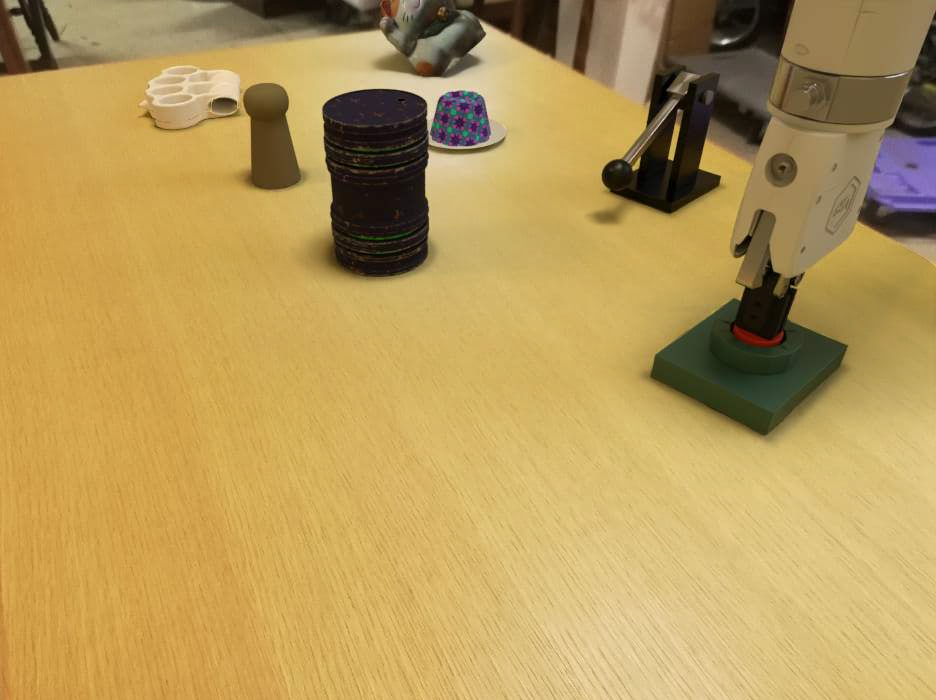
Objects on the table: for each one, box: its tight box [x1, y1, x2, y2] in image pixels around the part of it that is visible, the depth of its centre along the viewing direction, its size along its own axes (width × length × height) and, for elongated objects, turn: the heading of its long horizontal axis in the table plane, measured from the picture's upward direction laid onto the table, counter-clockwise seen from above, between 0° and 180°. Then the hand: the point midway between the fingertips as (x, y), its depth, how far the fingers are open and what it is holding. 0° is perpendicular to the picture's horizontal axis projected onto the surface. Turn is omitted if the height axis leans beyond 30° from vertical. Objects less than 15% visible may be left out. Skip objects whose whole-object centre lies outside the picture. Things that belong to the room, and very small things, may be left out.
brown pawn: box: [242, 82, 302, 190], centre depth 92 cm, size 6×6×11 cm
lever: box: [601, 71, 701, 191], centre depth 83 cm, size 15×3×3 cm
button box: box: [650, 297, 849, 436], centre depth 63 cm, size 12×10×4 cm
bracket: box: [609, 63, 722, 214], centre depth 86 cm, size 10×8×13 cm
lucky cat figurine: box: [379, 0, 487, 77], centre depth 125 cm, size 15×12×14 cm
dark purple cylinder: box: [321, 88, 430, 277], centre depth 76 cm, size 10×10×15 cm
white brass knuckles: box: [137, 65, 242, 130], centre depth 115 cm, size 3×18×15 cm
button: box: [732, 325, 783, 348], centre depth 62 cm, size 4×4×2 cm
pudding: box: [427, 89, 507, 150], centre depth 103 cm, size 12×12×5 cm
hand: (757, 329), depth 61 cm, fingers closed
